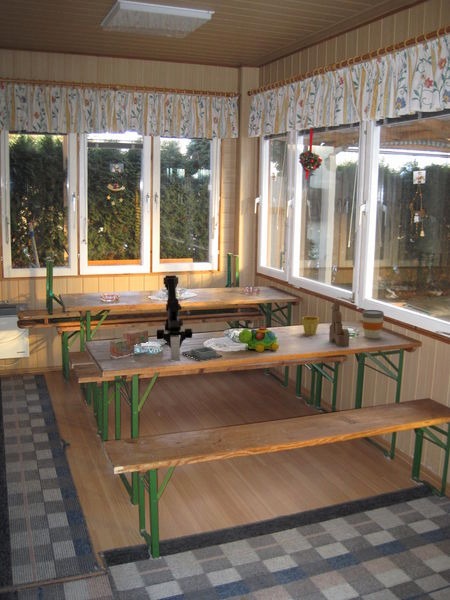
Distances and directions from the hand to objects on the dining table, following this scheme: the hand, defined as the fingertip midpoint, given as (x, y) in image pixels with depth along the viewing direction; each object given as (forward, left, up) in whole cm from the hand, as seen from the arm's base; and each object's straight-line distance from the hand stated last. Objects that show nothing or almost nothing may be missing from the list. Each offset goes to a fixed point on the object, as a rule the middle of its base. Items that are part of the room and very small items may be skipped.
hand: (175, 347), depth 329 cm
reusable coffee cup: (-105, +66, -7) cm, 124 cm away
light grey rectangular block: (-1, -1, -7) cm, 7 cm away
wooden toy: (-79, +56, -7) cm, 97 cm away
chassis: (-15, +6, -7) cm, 17 cm away
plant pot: (-91, +32, -7) cm, 97 cm away
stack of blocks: (+5, -27, -7) cm, 29 cm away
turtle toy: (-43, +24, -7) cm, 50 cm away
